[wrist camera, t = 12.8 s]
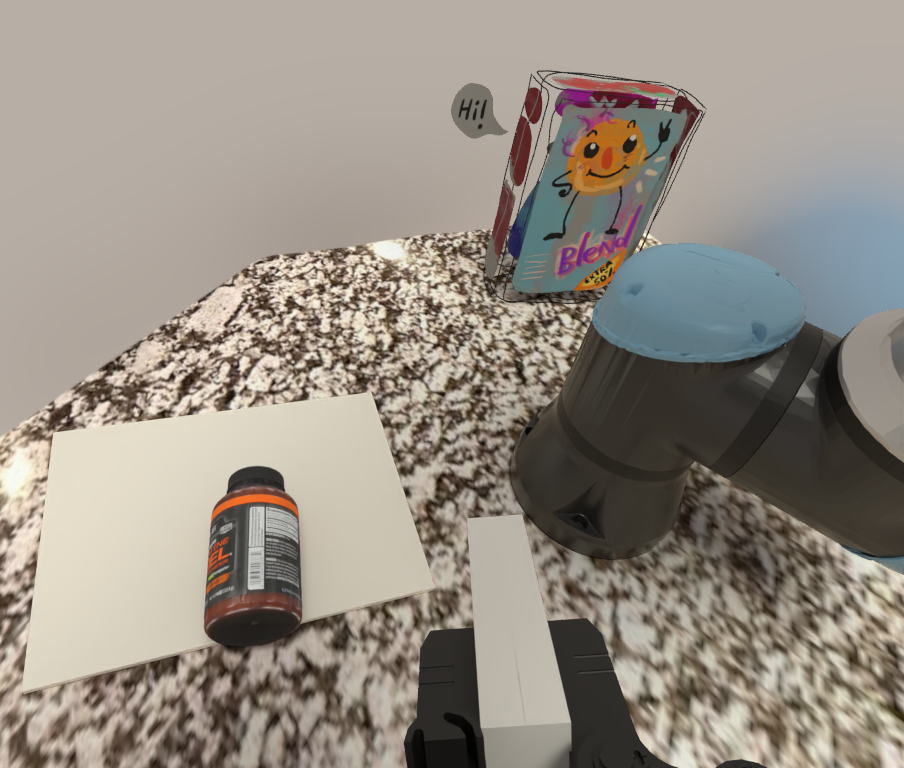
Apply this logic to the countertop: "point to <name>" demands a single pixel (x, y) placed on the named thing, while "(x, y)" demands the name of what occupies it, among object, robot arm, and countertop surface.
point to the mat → (207, 528)
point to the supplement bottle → (253, 561)
